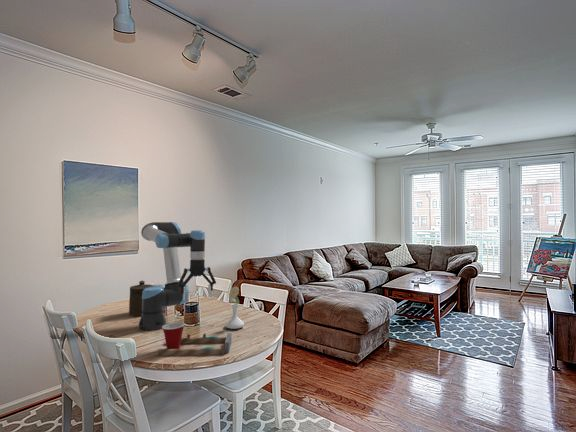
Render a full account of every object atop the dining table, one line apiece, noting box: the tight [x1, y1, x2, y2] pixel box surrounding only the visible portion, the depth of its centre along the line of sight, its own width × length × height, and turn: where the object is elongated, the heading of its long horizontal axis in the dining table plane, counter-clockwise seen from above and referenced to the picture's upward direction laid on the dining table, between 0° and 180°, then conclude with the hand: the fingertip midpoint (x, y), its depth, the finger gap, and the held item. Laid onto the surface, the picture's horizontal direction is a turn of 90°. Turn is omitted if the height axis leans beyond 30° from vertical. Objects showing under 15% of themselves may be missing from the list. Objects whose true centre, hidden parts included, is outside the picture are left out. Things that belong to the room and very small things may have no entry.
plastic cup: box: [161, 321, 185, 349], centre depth 162 cm, size 11×11×12 cm
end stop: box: [224, 332, 232, 354], centre depth 164 cm, size 2×13×5 cm, turn 5°
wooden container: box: [128, 280, 154, 318], centre depth 221 cm, size 15×15×22 cm
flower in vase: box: [224, 285, 245, 330], centre depth 194 cm, size 13×11×25 cm
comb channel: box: [157, 333, 227, 357], centre depth 163 cm, size 31×16×4 cm, turn 95°
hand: (197, 298), depth 177 cm, fingers open, 13 cm apart
